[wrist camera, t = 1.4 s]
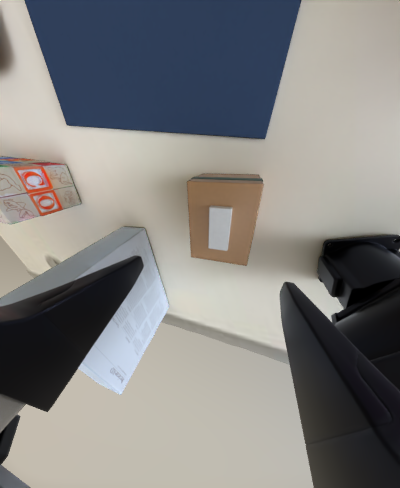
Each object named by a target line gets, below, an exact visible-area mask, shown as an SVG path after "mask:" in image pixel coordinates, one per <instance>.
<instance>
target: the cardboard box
mask: <svg viewBox="0 0 400 488" xmlns="http://www.w3.org/2000/svg"><path fill="white" fill-rule="evenodd" d="M263 186H264V184H263V180H262V178H260V176H259V175H246V174H201V175H199V176H197V177H193V178H192V179H191V180H189V181H187V191H188V209H189V227H190V244H191V257H195V258H201V259H207V260H213V261H220V262H226V263H232V264H238V265H244V266H247V262H248V257H249V253H250V248H251V243H252V238H253V234H254V229H255V224H256V219H257V215H258V210H259V205H260V200H261V195H262V191H263Z"/></svg>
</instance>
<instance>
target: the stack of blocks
mask: <svg viewBox="0 0 400 488" xmlns="http://www.w3.org/2000/svg"><path fill="white" fill-rule="evenodd" d="M79 204H81V202H80V199H79V196H78V194H77V191H76V189H75V187H74V183H73V181H72V178H71V176H70V173H69V171H68V168H67V166H66V165H65V164H57V163H50V162H46V161H38V160H31V159H23V158H21V159H19V158H11V157H3V156H0V222H2V223H7V224H15V223H18V222H21V221H24V220H28V219H31V218H34V217H38V216H44V215H47V214H51V213H54V212H57V211H60V210H63V209H66V208H69V207H73V206H76V205H79Z"/></svg>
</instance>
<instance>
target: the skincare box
mask: <svg viewBox="0 0 400 488" xmlns="http://www.w3.org/2000/svg"><path fill="white" fill-rule="evenodd" d="M134 255H137V256H141V257H142V260H143V264H144V268H143V270H142V272H141V274H140V276H139V277H138V279H137V281H136V283H135V285H134V286H133V288H132V290H131V291H130V293H129V294H128V295H127V297H126V298H125V300H124V301H123V303H122V304H121V306H120V307H119V309H118V310H117V312H116V313H115V315H114V316H113V317H112V319H111V320H110V322H109V323H108V325H107V326H106V328H105V329H104V331H103V332H102V334H101V335H100V337H99V338H98V340H97V341H96V342H95V344H94V345H93V347H92V348H91V350H90V351H89V353H88V354H87V355H86V357H85V359H84V360H83V362H82V363H81V365H80V366H79V368H78V369H80V370H81V371H82V372H84V373H85V374H86V375H88V376H89V377H90V378H92V379H93V380H94V381H96V382H97V383H98V384H100V385H102V386H104V387H106V388H108V389H110V390H112V391H114V392H116V393H118V394H120V395H121V394H122V392H123V390H124V388H125V386H126V385H127V383H128V381H129V379H130V377H131V375H132V373H133V372H134V369H135V368H136V366H137V364H138V362H139V361H140V359H141V357H142V355H143V353H144V352H145V350H146V348H147V346H148V345H149V343H150V341H151V339H152V337H153V336H154V334H155V332H156V329H157V328H158V326H159V324H160V322H161V321H162V319H163V317H164V315H165V314H166V312H167V310H168V308H169V304H168V301H167V297H166V294H165V291H164V288H163V285H162V281H161V278H160V275H159V272H158V269H157V266H156V263H155V259H154V256H153V253H152V250H151V247H150V244H149V241H148V237H147V234H146V231H145V229H144V228H135V227H121V228H119V229H118V230H116V231H114V232H112V233H111V234H109V235H107V236H106V237H104V238H102V239H101V240H99V241H97V242H95V243H94V244H92V245H90V246H89V247H87V248H85V249H84V250H82V251H80V252H78V253H77V254H75V255H73V256H71V257H70V258H68V259H66V260H65V261H63V262H61V263H60V264H58V265H56V266H54V267H53V268H51V269H49V270H48V271H46V272H44V273H42V274H41V275H39V276H37V277H36V278H34V279H32V280H31V281H29V282H27V283H25V284H23V285H22V286H20V287H18V288H17V289H15V290H13V291H11V292H10V293H8V294H6V295H5V296H3V297H1V298H0V306H5V305H9V304H12V303H15V302H18V301H21V300H23V299H26V298H29V297H32V296H34V295H37V294H40V293H43V292H45V291H48V290H51V289H53V288H56V287H59V286H61V285H64V284H66V283H69V282H71V281H73V280H76V279H78V278H81V277H83V276H86V275H88V274H91V273H93V272H95V271H98V270H100V269H103V268H105V267H108V266H110V265H112V264H115V263H117V262H120V261H122V260H125V259H127V258H129V257H132V256H134Z"/></svg>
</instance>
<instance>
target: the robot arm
mask: <svg viewBox="0 0 400 488" xmlns="http://www.w3.org/2000/svg"><path fill="white" fill-rule="evenodd" d="M395 239H396V240H395ZM393 240H394V241H393ZM328 244H331V245H328ZM399 249H400V236H399V235H386V236H374V237H361V238H349V239H336V240H327V241H325V242H324V244H323V250H322V256H321V257H320V258H319V262H318V270H317V273H318V275H319V277H318V278H319V280H320V282H323V283H324V285H325V287H326V288H327V290H328V292H329V294H330V295H331V296H332V297H337V298H338V300H339V301H340V303H341V305H342V306H343V308H344V310H342V311H340V312H339V313H335V314H333V315H332V322H331V321H330V320H329V319H328V318H327V317H326V316H325V315H324V314H323V313H322V312H321V311H320V310H319V309H318V308H317V307H316V306H315V305H314V304H313V303H312V302H311V301H310V299H309V298H308V297H307V296H306V295H305V294H304V293H303V292H302V291H301V290H300V289H299V288H298V287H297V286H296V285H295V284H294V283H291V282H284V284H283V286H282V289H281V291H280V306H281V319H282V327H283V332H284V337H285V342H286V347H287V352H288V357H289V362H290V368H291V373H292V377H293V383H294V388H295V393H296V398H297V403H298V408H299V413H300V419H301V424H302V429H303V434H304V439H305V444H306V450H307V455H308V459H309V465H310V470H311V475H312V480H313V485H314V488H400V252H399ZM143 268H144V264H143V260H142V257H141V256H137V255H134V256H132V257H129V258H127V259H125V260H122V261H120V262H117V263H115V264H112V265H110V266H108V267H105V268H103V269H100V270H98V271H95V272H93V273H91V274H88V275H86V276H83V277H81V278H78V279H76V280H73V281H71V282H69V283H66V284H64V285H61V286H59V287H56V288H53V289H51V290H48V291H45V292H43V293H40V294H37V295H34V296H32V297H29V298H26V299H23V300H21V301H18V302H15V303H12V304H9V305H5V306H0V488H30V487H29V486H27V485H26V484H25V483H24V482H22V481H21V480H20V479H19V478H17V477H16V476H15V475H13V474H12V473H11V472H9V471H8V470H7V469H6V468H4V467H3V466H2V465H1V464H2V463H3V461H4V460H5V459H6V458H7V456H8V454H9V451H10V447H11V444H12V441H13V438H14V435H15V432H16V428H17V426H18V422H19V419H20V416H19V415H18V412H19V411H20V410H21V409H22V408H23V407H24V406H25V405H26V404H28V405H30V406H33V407H36V408H38V409H41V410H43V411H46V412H48V411H49V410H50V408H51V407H52V406H53V404H54V403H55V401H56V400H57V398H58V397H59V395H60V394H61V392H62V391H63V390H64V388H65V387H66V385H67V384H68V382H69V381H70V379H71V378H72V376H73V375H74V373H75V372H76V370H77V369H78V368H79V366H80V365H81V363H82V362H83V360H84V359H85V357H86V355H87V354H88V353H89V351H90V350H91V348H92V347H93V345H94V344H95V342H96V341H97V340H98V338H99V337H100V335H101V334H102V332H103V331H104V329H105V328H106V326H107V325H108V323H109V322H110V320H111V319H112V317H113V316H114V315H115V313H116V312H117V310H118V309H119V307H120V306H121V304H122V303H123V301H124V300H125V298H126V297H127V295H128V294H129V293H130V291H131V290H132V288H133V286H134V285H135V283H136V281H137V279H138V277H139V276H140V274H141V272H142V270H143Z"/></svg>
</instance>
